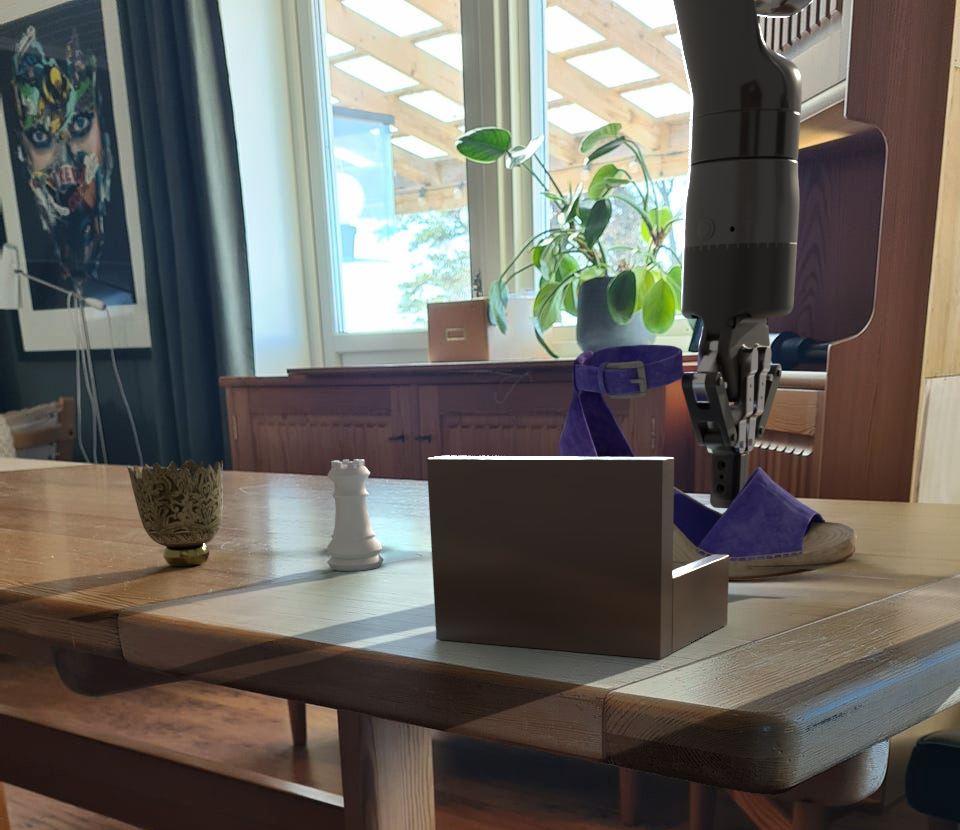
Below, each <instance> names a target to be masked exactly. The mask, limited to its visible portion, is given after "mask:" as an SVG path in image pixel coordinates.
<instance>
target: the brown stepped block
mask: <svg viewBox="0 0 960 830" xmlns="http://www.w3.org/2000/svg"><path fill="white" fill-rule="evenodd" d="M426 471H427V490H428V491H427V493H428V508H429V525H430V526H429V527H430V528H429V529H430V530H429V531H430V546H431V564H432V565H431V566H432V581H433V583H432V584H433V602H434V622H435V639H436V640H439V641H449V642H450V641H451V642H453V641H454V642H462V643H474V644H485V645H495V646H505V647H517V648H527V649H528V648H529V649H539V650H549V651H550V650H552V651H562V652H573V653H574V652H575V653H583V654H585V653H586V654H595V655H605V656H606V655H608V656H616V657H617V656H618V657H630V658H639V659H640V658H642V659H650V660H651V659H652V660H661V659H664V658H666V657H668V656H669V655H671V654H673V653H675V652H677V651H678V650H680V649H682V648H684V647H686V646H688V645H690V644H692V643H694V642H696V641H698V640H700V639H701V638H700V637H702V638H703V636H704V635H706V634H708V633H709V634H711V633H713V632H715V631H718V630H719V629H721V628H723V627H725V626H727V625H728V609H729V608H728V607H729V605H728V604H729V580H728V578H729V555H719V554H713V555H711V556H708V557H706V558H703V559H701V560H698V561H695V562H693V563H690V564H688V565H685V566H683V567H680V568H678V569H675V570H673V563H674V562H673V510H674V487H675V457H674V456H635V457H559V456H514V455H513V456H505V455H504V456H502V455H501V456H499V455H498V456H497V455H495V456H493V455H492V456H489V455H487V456H485V455H482V456H481V455H479V456H475V455H474V456H473V455H472V456H471V455H468V456H467V455H458V456H457V455H451V456H450V455H441V456H434V457H427V458H426ZM726 624H727V625H726ZM724 625H725V626H724ZM722 626H723V627H722ZM720 627H721V628H720ZM714 630H715V631H714ZM712 631H713V632H712ZM710 632H711V633H710ZM709 634H708V635H709ZM706 636H707V635H706ZM704 637H705V636H704ZM699 638H700V639H699ZM697 639H698V640H697ZM695 640H696V641H695ZM693 641H694V642H693ZM691 642H692V643H691Z"/></svg>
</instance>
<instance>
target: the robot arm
mask: <svg viewBox="0 0 960 830" xmlns="http://www.w3.org/2000/svg"><path fill="white" fill-rule="evenodd" d="M813 1H814V0H671V3H672V9H673V13H674V19H675V24H676V28H677V34H678V39H679V43H680V48H681V54H682V60H683V65H684V70H685V73H686V79H687V83H688V88H689V91H690V101H691V104H690V105H691V106H690V117H689V119H690V121H689V151H688V152H689V154H688V155H689V156H688V159H689V160H688V165H689V168H688V173H687V175H688V176H687V182H686V190H685V195H684V196H685V197H684V204H683V226H682V227H683V228H682V229H683V230H682V231H683V233H682V263H681V265H682V269H681V297H680V298H681V299H680V302H681V303H680V311H681V314H682V316H683V317H684V318H686V319H688V320H701V321H702V328H701V333H700V338H699V342H698V353H697V359H696V361H697V365H696V367H697V368H696V371H685V372H683V377H682V378H681V383H680V385H681V390H682V394H683V397H684V400H685V403H686V407H687V410H688V411H687V412H688V414H689V418H690V421H691V424H692V427H693V431H694V435H695V438H696V441H697V445H698V446H700V447H706V450H707V453H709V454H711V463H710V464H711V465H710V467H711V468H710V490H709V503H710V506H711V507H713V508H715V509H728V507H729V506H730V505H731V503H732V502H733V501H734V499H735V498H736V497H737V495H738V494H739V492H740V491H741V489H742V488H743V486H744V485H745V483H746V482H747V480H748V474H749V473H748V472H749V452H752V451H753V450H754V447H755V443H756V442H755V440H758V441H761V440H762V439H763V437H764V434H765V430H766V427H767V424H768V421H769V418H770V415H771V414H770V413H771V411H772V407H773V404H774V401H775V398H776V394H777V390H778V387H779V384H780V380H781V377H782V371H783V370H782V365H781V364H780V363H772V347H771V341H770V332H769V318H770V317H771V318H773V317H785V316H788V315H789V314H791V312H792V311H793V309H794V304H795V303H794V302H795V289H796V287H795V285H796V270H797V269H796V268H797V254H798V253H797V252H798V237H799V236H798V235H799V221H800V219H799V218H800V184H799V162H798V160H799V151H800V150H799V149H800V132H801V131H800V130H801V116H802V115H801V113H802V101H803V100H802V98H803V85H802V84H803V83H802V76H801V73H800V69H799V68H798V66H797V65H796V64H795V63H794V61H792V60H790V59H789V58H787V57H785V56H783V55H781V54H780V53H777V52H776V51H774V50H773V49H772V48H770V46H769V45H768V44H767V43H766V41H765V39H764V37H763V36H764V35H763V32H762V27H761V24H760V19H759V17H765V18H766V17H767V18H779V19H780V18H787V17H791V16H795V15H797V14H798V13H800V12H802V11H803V10H805V9H806V8H807V7H808V6H809V5H810V4H811V3H812V2H813ZM730 403H732V404H730Z"/></svg>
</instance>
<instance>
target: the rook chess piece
mask: <svg viewBox="0 0 960 830" xmlns="http://www.w3.org/2000/svg"><path fill="white" fill-rule="evenodd" d="M352 460H353V461H350V459H342V461H340V460H331V461H330V462H331V467H330V470H329V472H328V473H327V477H328V478H329V479H330V480H331V482H332V484H333V486H334V487H333V488H334V491H333V493H332V494H331V496H332V497H333V499H334V506H335V513H334V516H335V517H334V528H333V532H332V533H333V534H331V535H330V537H331V540H330V542H329V543H328V544H327V547H326V552H327V553H328V554H329V555H330V556H331V557H330V558H329V559H328V560H327V561H326V563H327V564H328V566H329V567H330V568H331V570H332V571H337V572H338V571H339V572H359V571H368V570H369V571H370V570H374V569H378V568H379V567H381V565H382V564H383V562H384V561H385V559H384V558H383V557H382V556H380V555H379V554H380V552H381V551H382V549H383V546H382V543H381V542H380V541H379V540H378V539H377V538H376V533H375V532H374V530H373V527H372V524H371V519H370V515H369V510H368V501H367V498H368V496H369V494H370V493H369V492H368V491H367V488H366V481H367V480H368V478H369V476H370V474H371V472H370V471H369V470H368V469H369V468H367V467H366V461H365V459H360V458H355V459H352Z"/></svg>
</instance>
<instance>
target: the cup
mask: <svg viewBox="0 0 960 830" xmlns="http://www.w3.org/2000/svg"><path fill="white" fill-rule="evenodd" d="M126 467H127V472H128V474H129V480H130V483H131V487H132V488H131V489H132V491H133V496H134V500H135V504H136V507H137V512H138V515H139V519H140V521H141V524H142V526H143V528H144V529H143V530H145V533H146V534H147V536H148V537H149V538H150V539H151V540H152V541H154V542H155V543H157V544H158V545H161V546H164V550H163V553H162V557H163V559H164V560H165V562H166V563H167V565H168V566H172V567H193V566H199V565H203V564H204V563H206V562H207V561H208V559H209V555H210V550H209V549H208V547H207V545H206V544H207V543H209V542H210V541H212V540H213V539H214V538H215V537H216V535H217V534H218V533H219V531H220V529H221V525H222V519H223V505H224V503H223V502H224V501H223V498H224V496H223V495H224V494H223V493H224V492H223V491H224V489H223V487H224V485H223V484H224V483H223V478H224V477H223V475H224V474H223V467H224V463H223V460H221V461H220V462H219V461H218V460H217V461H216V462H215V464H214V466H213V467H212V465H211V464H208V465H207V467H206V464H205V462H204V461H203V460H201V461H200V462H199V463H198V465H197V464H196V462H195V461H194V460H192V458H191V459H188V460H185V462H184V463H182V464H181V465H180V466H179V467H177V465H176V463H175V462H174V461H172V460H171V461H170V463H169V465H168V466H167V467H162V466H161V465H160V464H159V463H158V462H154V463H153V465H152V468H151V467H150V466H149V465H148V464H147V463H144V464H143V465H142V469H141V470H140V468H139V466H138V465H134V466H133V469H132V468H131V467H130V466H129V465H127V466H126Z"/></svg>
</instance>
